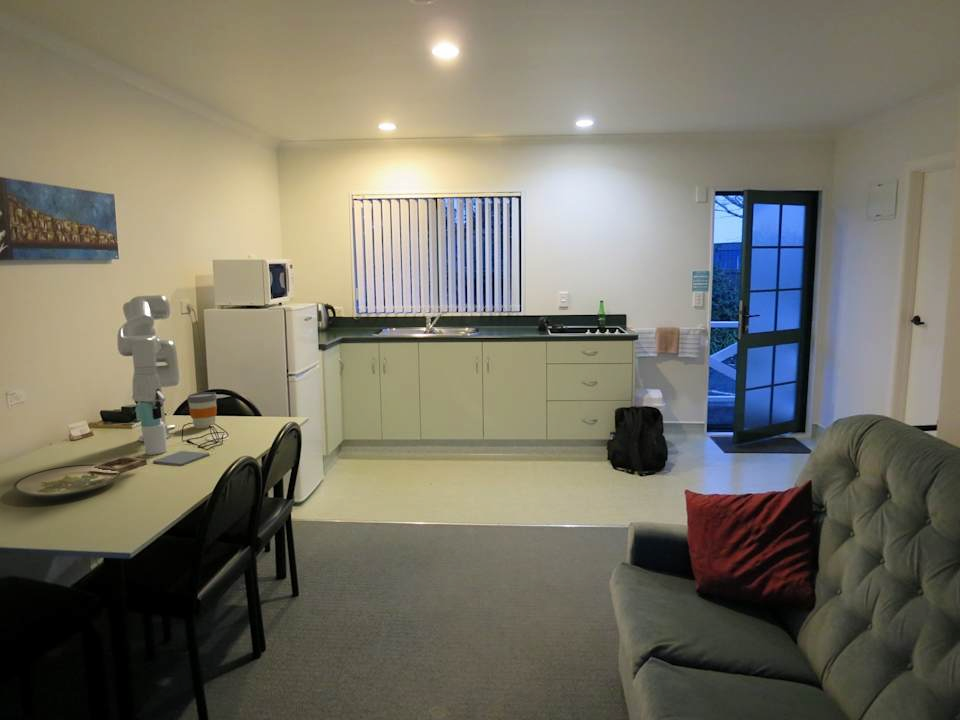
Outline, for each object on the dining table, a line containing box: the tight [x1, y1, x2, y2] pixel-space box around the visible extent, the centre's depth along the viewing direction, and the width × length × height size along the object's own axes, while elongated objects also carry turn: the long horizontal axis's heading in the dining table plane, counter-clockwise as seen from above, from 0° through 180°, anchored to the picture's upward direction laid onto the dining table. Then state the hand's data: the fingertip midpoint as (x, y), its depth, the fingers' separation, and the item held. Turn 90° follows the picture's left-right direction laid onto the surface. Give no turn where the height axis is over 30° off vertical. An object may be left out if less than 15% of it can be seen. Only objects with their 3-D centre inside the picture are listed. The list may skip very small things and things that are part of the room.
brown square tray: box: [93, 456, 148, 474], centre depth 239 cm, size 13×13×2 cm
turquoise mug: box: [135, 402, 161, 427], centre depth 241 cm, size 8×6×9 cm
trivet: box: [152, 450, 210, 467], centre depth 248 cm, size 14×14×1 cm
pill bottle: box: [143, 419, 168, 456], centre depth 258 cm, size 8×8×15 cm
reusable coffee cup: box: [187, 391, 218, 429], centre depth 301 cm, size 13×13×15 cm
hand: (150, 417), depth 242 cm, fingers closed on turquoise mug, 6 cm apart
